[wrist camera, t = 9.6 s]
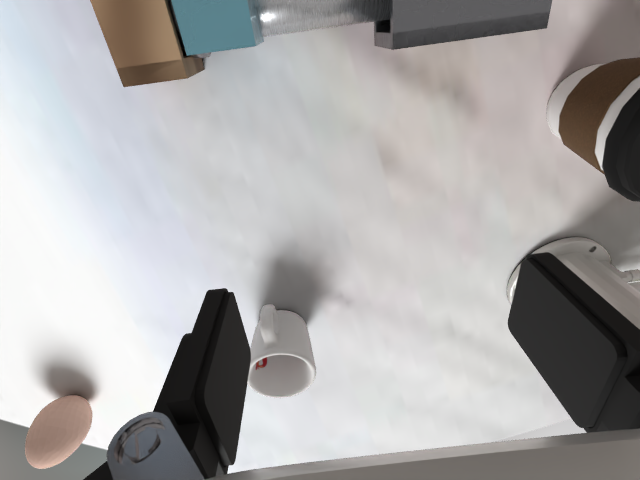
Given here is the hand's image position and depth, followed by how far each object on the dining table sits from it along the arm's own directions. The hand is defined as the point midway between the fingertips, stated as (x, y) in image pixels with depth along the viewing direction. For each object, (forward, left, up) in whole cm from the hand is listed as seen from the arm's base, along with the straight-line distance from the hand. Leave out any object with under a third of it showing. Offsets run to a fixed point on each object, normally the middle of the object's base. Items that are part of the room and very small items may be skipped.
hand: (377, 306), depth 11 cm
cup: (+8, +23, -25) cm, 35 cm away
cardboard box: (+11, -10, -25) cm, 29 cm away
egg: (+39, +33, -25) cm, 57 cm away
